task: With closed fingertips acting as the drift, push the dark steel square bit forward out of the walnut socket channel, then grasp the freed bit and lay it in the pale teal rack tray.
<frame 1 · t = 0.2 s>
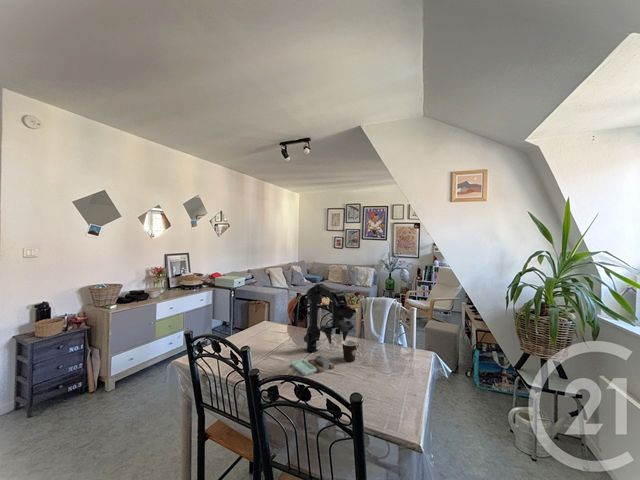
hand: (337, 342, 155), 14 cm above the table, fingers open, 9 cm apart
rack: (303, 368, 153), on the table
coffee mug: (351, 359, 165), on the table
socket: (321, 366, 156), on the table
bit: (322, 367, 156), resting in socket
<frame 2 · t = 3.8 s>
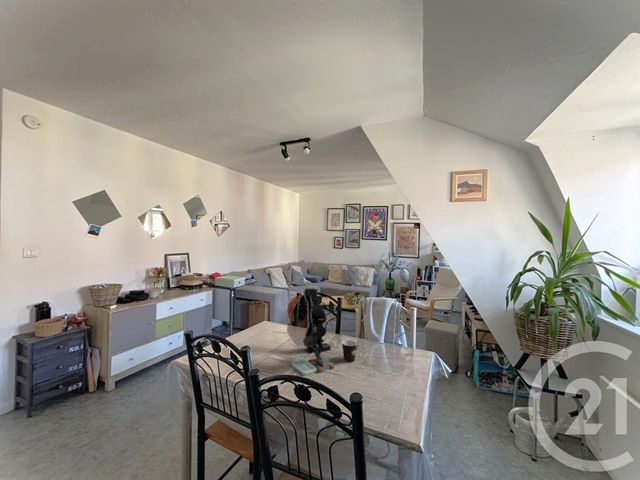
hand: (317, 358, 160), 3 cm above the table, fingers closed
bit: (322, 367, 155), resting in socket, touching gripper
everything else where it was.
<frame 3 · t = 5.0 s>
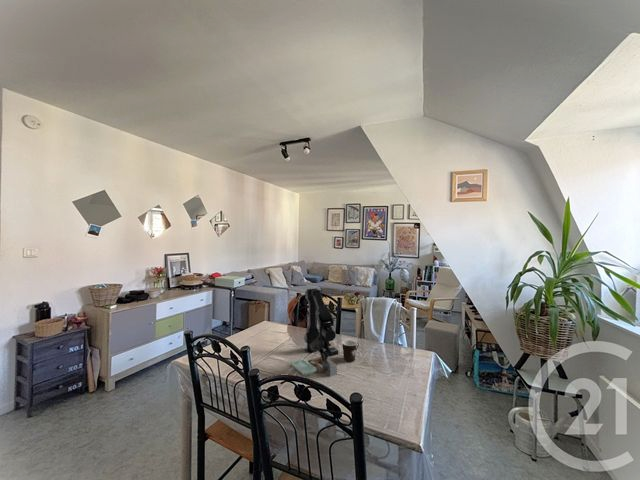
hand: (324, 362, 154), 3 cm above the table, fingers closed
bit: (329, 372, 150), on the table, touching gripper
everything else where it was.
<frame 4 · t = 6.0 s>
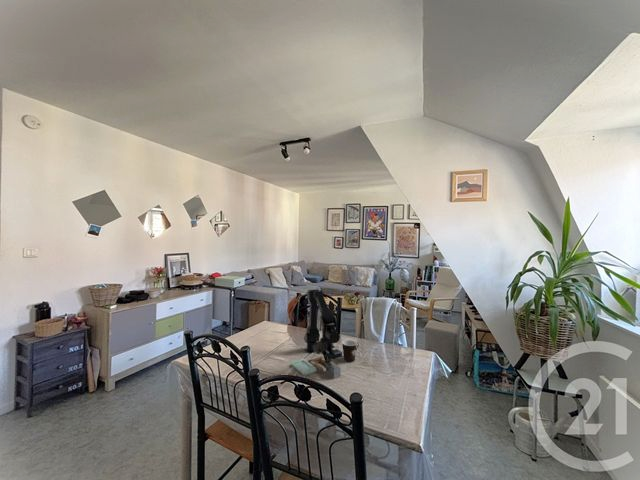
hand: (327, 364, 151), 3 cm above the table, fingers closed
bit: (333, 374, 147), on the table, touching gripper
everything else where it was.
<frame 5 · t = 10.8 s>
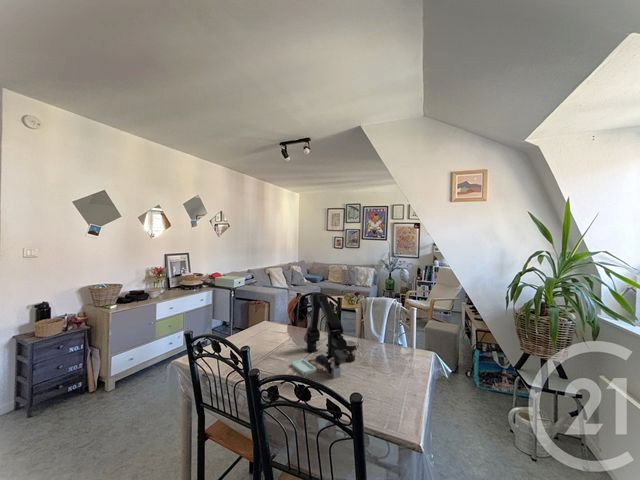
hand: (333, 372, 147), 1 cm above the table, fingers closed on bit, 4 cm apart
bit: (333, 374, 147), on the table, touching gripper
everything else where it was.
when the fingers open (3 cm above the table, at t = 16.0 s): bit drops 1 cm, resting on rack.
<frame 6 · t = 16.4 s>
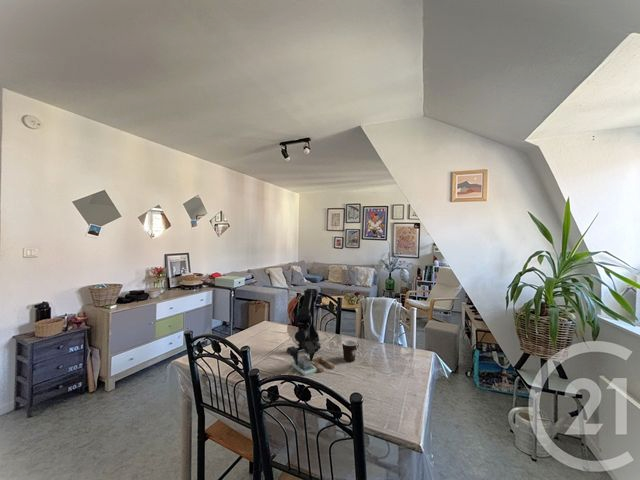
hand: (303, 363, 153), 3 cm above the table, fingers open, 9 cm apart
bit: (304, 367, 153), point 1 cm above the table, touching rack
everything else where it was.
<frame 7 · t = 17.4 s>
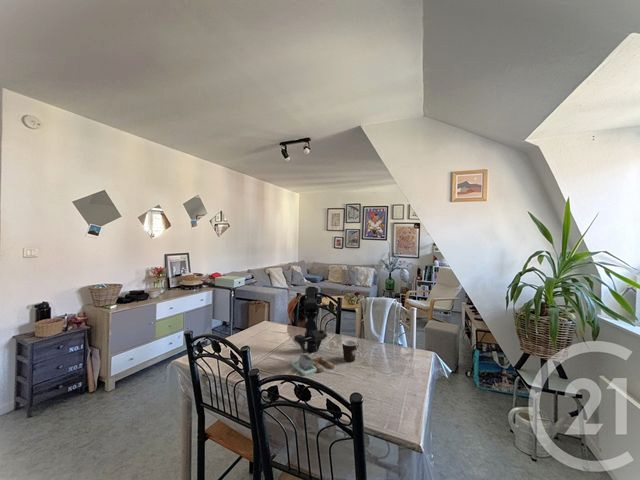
hand: (310, 351, 158), 8 cm above the table, fingers open, 9 cm apart
bit: (304, 366, 153), point 1 cm above the table, tilted 17°, touching rack
everything else where it was.
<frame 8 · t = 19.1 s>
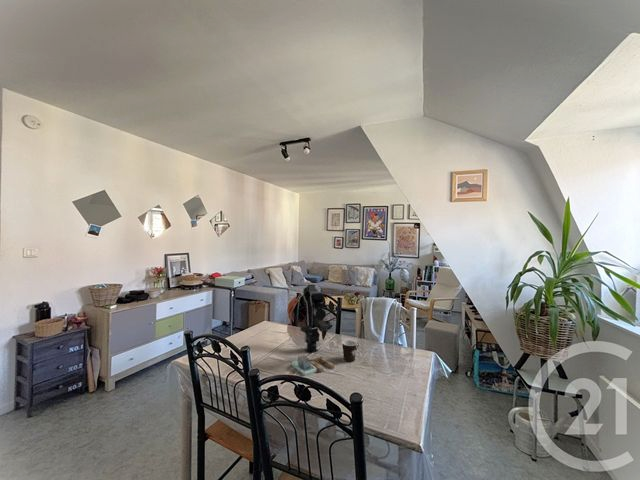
hand: (316, 341, 162), 12 cm above the table, fingers open, 9 cm apart
bit: (304, 367, 153), point 1 cm above the table, touching rack
everything else where it was.
at the end: bit inside the target area on the rack (0.3 cm from its centre), point 0.6 cm above the rack's base; bit touching rack; the gripper is holding nothing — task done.
